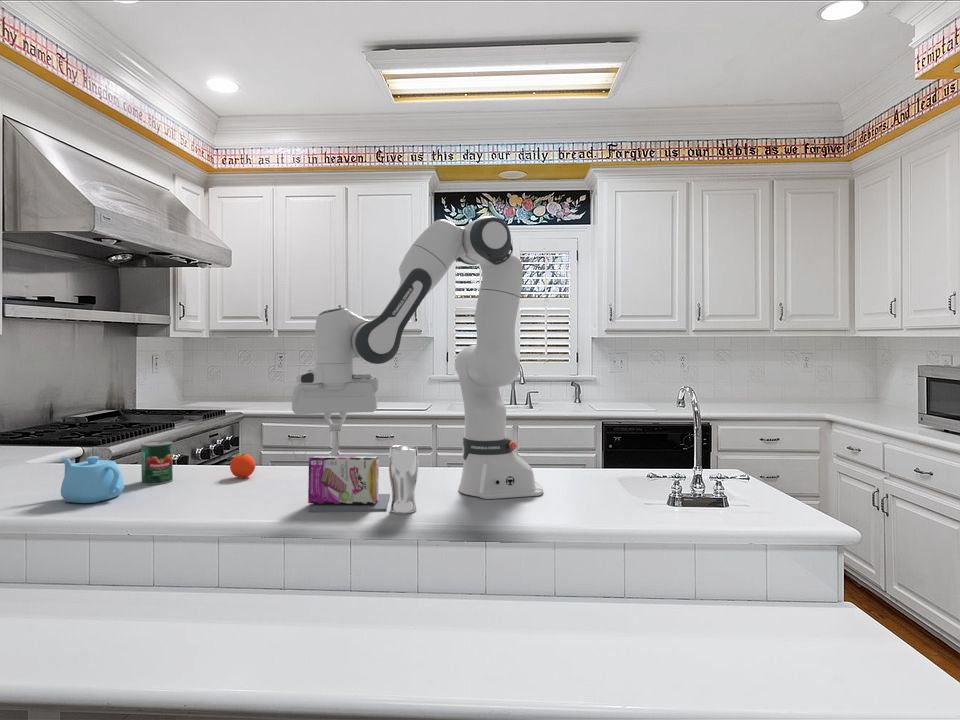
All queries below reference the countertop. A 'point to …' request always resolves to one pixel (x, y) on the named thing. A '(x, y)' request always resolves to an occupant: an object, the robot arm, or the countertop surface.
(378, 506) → the grey rubber mat
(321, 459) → the candy bar box
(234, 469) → the clementine
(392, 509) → the beer glass
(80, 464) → the teapot
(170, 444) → the canned tomato
